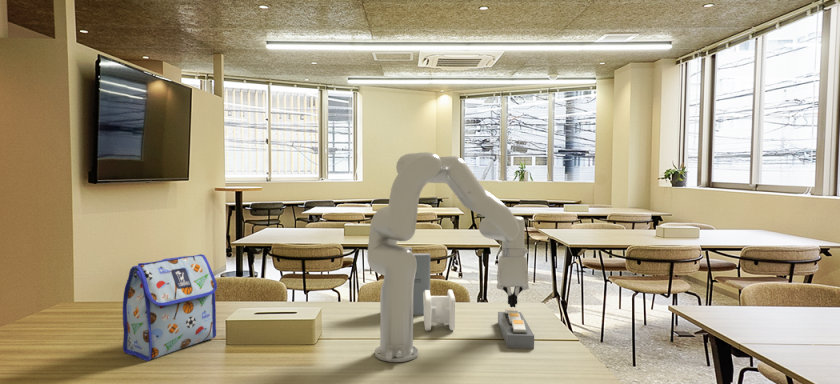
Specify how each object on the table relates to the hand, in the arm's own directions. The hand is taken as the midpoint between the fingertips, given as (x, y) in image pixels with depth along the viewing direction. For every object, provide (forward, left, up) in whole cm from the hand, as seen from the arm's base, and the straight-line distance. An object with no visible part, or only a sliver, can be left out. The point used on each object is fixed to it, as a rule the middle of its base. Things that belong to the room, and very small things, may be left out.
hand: (512, 306), depth 165 cm
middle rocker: (-6, 0, -2) cm, 7 cm away
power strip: (-2, 0, -8) cm, 8 cm away
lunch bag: (-24, +105, -8) cm, 108 cm away
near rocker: (-14, 0, -2) cm, 14 cm away
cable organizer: (+1, +25, -8) cm, 26 cm away
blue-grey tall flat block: (+16, +37, -8) cm, 41 cm away
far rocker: (+2, 0, -2) cm, 3 cm away
